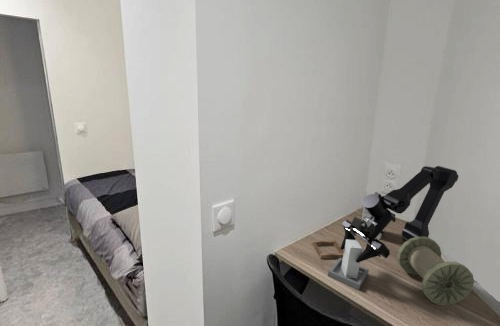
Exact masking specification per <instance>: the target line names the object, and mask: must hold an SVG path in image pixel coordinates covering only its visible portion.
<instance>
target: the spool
mask: <svg viewBox="0 0 500 326" xmlns="http://www.w3.org/2000/svg"><path fill="white" fill-rule="evenodd" d="M441 257H442V250H441V247H440V245H439V244H438V243H437V242H436V241H435V240H434V239H432V238H430V237H429V236H428V237H420V236H418V237H415V238H411V239H409V240H408V241H406V242H405V241H404V242H403V244H401V246H400V248H399V249H398V252H397V256H396V259H397V263H398V265H399V266H400V267H401V268H402V269H403V271H404V273H405V272H406V273H408V274H410V275H416V276H417V275H419V276H420V277H421V278H422V282H421V289H422V292H423V294H424V295H425V297H427V298H428V300H429V301H430V302H432V303H434V304H435V305H437V306H451V305H454V304H457V303H458V304H459V302H461V301H463V300H464V299H466V298H468V296H469V294H470V293H471V291H472V290H473V287H474V283H475V280H474V274H473V272H471V271H470V269H469V268H468V267H467V266H466V265H464V264H463V263H460V262H458V261H445V260H444V259H442V258H441Z"/></svg>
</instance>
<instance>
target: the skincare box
mask: <svg viewBox="0 0 500 326" xmlns="http://www.w3.org/2000/svg"><path fill="white" fill-rule="evenodd" d="M343 251H344V254H343V258H342V259H343V260H342V266H341V268H342V271H343V273H344V275H345V277H347V278H355V279H357V276H358V270H359V266H361V262H359V263H357V262H356V260H357V258H358V257H359V256H360V255H361V253H362V252H363V247H362V246H361V244H360V243H359V241H358V240H357V239H355V240H348V239H346V243H345V248H344V249H343Z"/></svg>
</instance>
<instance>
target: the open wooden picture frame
mask: <svg viewBox="0 0 500 326" xmlns="http://www.w3.org/2000/svg"><path fill="white" fill-rule="evenodd" d="M311 245H312V247H313V249H314V250H315V252H316V253H317V256H318V257H319V259H320V260H321V259H339V258H342V259H343V254H344V249H343V250H341V249H340V248H341V245H340V244H338V242H337V241H336V240H311ZM319 246H334V248H335V249H336V251H338V253H337V252H336V253H335V252H334V253H322V250H320V249H321V248H319Z"/></svg>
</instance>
